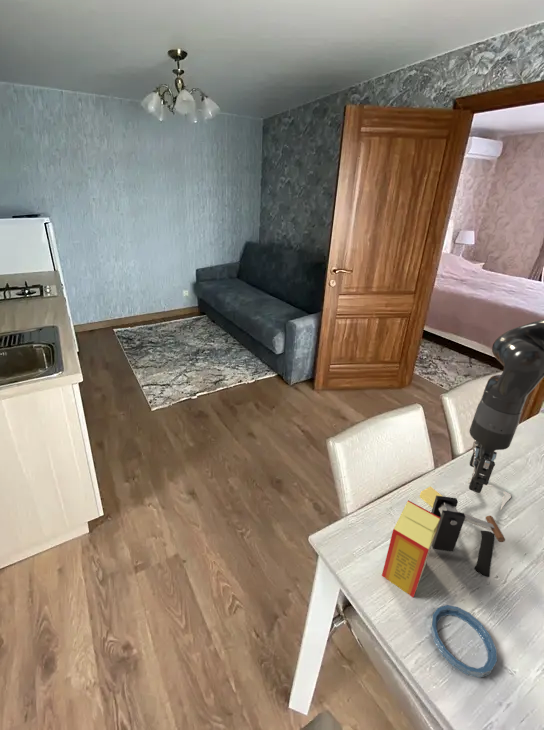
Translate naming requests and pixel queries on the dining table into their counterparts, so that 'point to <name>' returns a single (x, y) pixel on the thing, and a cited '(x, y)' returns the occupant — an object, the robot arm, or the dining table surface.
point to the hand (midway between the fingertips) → (474, 478)
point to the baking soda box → (410, 547)
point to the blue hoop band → (480, 630)
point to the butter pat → (429, 495)
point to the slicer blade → (477, 521)
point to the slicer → (447, 525)
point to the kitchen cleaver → (487, 544)
